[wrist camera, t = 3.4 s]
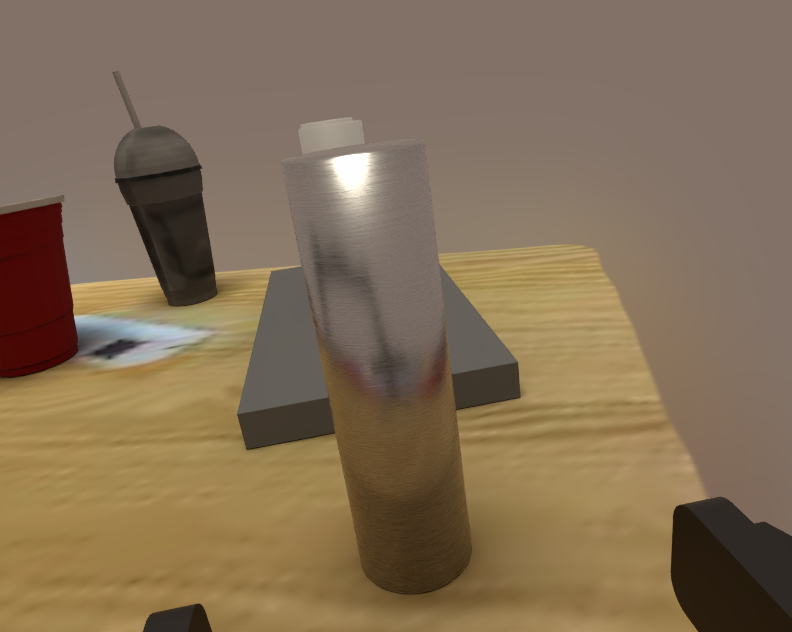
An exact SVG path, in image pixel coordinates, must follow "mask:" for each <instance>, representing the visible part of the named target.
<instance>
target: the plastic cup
mask: <svg viewBox="0 0 792 632" xmlns="http://www.w3.org/2000/svg"><path fill="white" fill-rule="evenodd" d="M63 201H64V195H60V196H54V197H49V198H43V199H37V200H32V201H26V202H21V203H16V204H11V205H5V206H1V207H0V376H1V377H14V376H20V375H27V374H30V373H34V372H37V371H41V370H44V369H47V368H50V367H52V366H55V365H57V364H60V363H61V362H63V361H65V360H67V359H69V358H70V357H72V356H73V355H74V354H75V353H76V352H77V349H78V346H77V343H78V337H77V332H76V326H75V320H74V314H73V299H72V293H71V287H70V281H69V275H68V268H67V262H66V256H65V250H64V244H63V236H64V235H63V230H62V224H61V223H62V216H61V212H62V209H61V208H62V204H61V202H63Z"/></svg>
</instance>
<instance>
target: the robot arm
mask: <svg viewBox="0 0 792 632" xmlns="http://www.w3.org/2000/svg"><path fill="white" fill-rule="evenodd" d="M671 580H672V585H673V588H674V592H675V595H676V597H677V599H678V602H679V604H680V606H681V608H682V609H683V611H684V613H685V614H686V616H687V617H688V618H689V620H690V621H691V622H692V624H693V625H694V626H695V628H696V629H697V631H698V632H792V536H790V535H788V534H787V533H785V532H783V531H781V530H779V529H777V528H775V527H773V526H772V525H770V524H768V523H766V522H760V523H756V524H754V523H753V522H752V521H750V520H749V519H748V518H747V517H746V516H745V515H744V514H743V513H742V512H741V511H740V510H739V509H738V508H737V507H736V506H735V505H734V504H733V503H732V502H730V501H729V500H728V499H726V498H723V497H716V498H711V499H706V500H702V501H697V502H692V503H687V504H682V505H678V506H677V507H676V508H675V510H674V514H673V533H672V556H671ZM143 632H212V630H211V627H210V624H209V621H208V618H207V615H206V612H205V610H204V608H203V606H202V605H201V604H194V605H189V606H184V607H179V608H174V609H170V610H165V611H160V612H155V613H152V614H151V615H150V616H149V617H148V619H147V621H146V624H145V627H144V630H143Z"/></svg>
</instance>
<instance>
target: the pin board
mask: <svg viewBox="0 0 792 632" xmlns="http://www.w3.org/2000/svg"><path fill="white" fill-rule="evenodd" d="M298 133H299V138H300V143H301V149H302V154H306V153H311V152H316V151H321V150H326V149H332V148H338V147H344V146H351V145H357V144H365V141H364V135H363V128H362V121H361V120H354V121H352V117H348V118H339V119H332V120H325V121H319V122H312V123H307V124H302V125H301V129H298ZM439 267H440V275H441V284H442V293H443V302H444V310H445V319H446V328H447V336H448V345H449V354H450V363H451V371H452V380H453V389H454V397H455V406H456V409H461V408H466V407H471V406H476V405H482V404H487V403H492V402H497V401H502V400H508V399H513V398H518V397H520V384H519V369H518V361H517V360H516V359H515V358H514V356H513V355H512V354H511V353H510V351H509V350H508V349H507V348H506V346H505V345H504V344H503V343H502V341H501V340H500V339H499V338H498V337H497V335H496V334H495V333H494V332H493V330H492V329H491V328H490V327H489V325H488V324H487V323H486V322H485V320H484V319H483V318H482V317H481V315H480V314H479V313H478V312H477V310H476V309H475V308H474V307H473V305H472V304H471V303H470V302H469V300H468V299H467V298H466V297H465V295H464V294H463V293H462V292H461V291H460V289H459V288H458V287H457V286H456V284H455V283H454V282H453V281H452V279H451V278H450V277H449V276H448V274H447V273H446V272H445V271H444V269H443V268H442V267H441V266H440V264H439ZM237 415H238V419H239V423H240V427H241V430H242V434H243V438H244V442H245V445H246V449H251V448H257V447H262V446H267V445H272V444H278V443H283V442H288V441H293V440H298V439H304V438H309V437H314V436H319V435H325V434H330V433H335V429H334V424H333V419H332V414H331V409H330V404H329V399H328V394H327V389H326V384H325V379H324V374H323V369H322V364H321V359H320V354H319V349H318V344H317V339H316V334H315V329H314V324H313V319H312V314H311V309H310V304H309V299H308V295H307V290H306V285H305V280H304V275H303V270H302V266H301V267H295V268H289V269H283V270H277V271H271V275H270V279H269V283H268V288H267V292H266V296H265V300H264V304H263V308H262V313H261V317H260V321H259V325H258V329H257V334H256V338H255V342H254V346H253V350H252V354H251V359H250V363H249V367H248V371H247V375H246V380H245V384H244V388H243V392H242V396H241V400H240V405H239V409H238V413H237Z"/></svg>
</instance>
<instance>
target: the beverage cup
mask: <svg viewBox="0 0 792 632" xmlns="http://www.w3.org/2000/svg"><path fill="white" fill-rule="evenodd" d="M113 75H114V78H115V80H116V83H117V85H118V88H119V90H120V93H121V95H122V97H123V100H124V102H125V105H126V108H127V110H128V112H129V115H130V117H131V120H132V122H133V125H134V127H135V129H133V130H131V131H130V132H129V133H127V134H126V135H125V136H124V137H123V139H122V140H121V142H120V143H119V145H118V147H117V150H116V153H115V158H114V170H115V175H116V178H115V182H116V183H118V185H119V188H120V191H121V193H122V195H123V197H124V199H125V201H126V203H127V205H129V206H130V209H131V211H132V214H133V216H134V219H135V221H136V224H137V227H138V229H139V232H140V234H141V237H142V239H143V242H144V244H145V247H146V250H147V252H148V255H149V257H150V260H151V262H152V265H153V268H154V270H155V273H156V275H157V278H158V280H159V283H160V285H161V288H162V289H163V291H164V294H165V296H166V297H167V300H168V303H169V305H171V306H186V305H192V304H196V303H200V302H203V301H206V300H208V299H210V298H212V297H214V296H215V295H216V294H217V289H216V281H215V271H214V264H213V259H212V252H211V246H210V240H209V234H208V228H207V222H206V216H205V210H204V204H203V198H202V191H203V188H202V176H201V171H200V169H201V168H202V167H201V165H200V164H199V162H198V159H197V156H196V155H195V152H194V150H193V149H192V148H191V146H190V144H189V143H188V142H187V141H186V140H185V139H184V138H183V137H182V136H181V135H179V134H178V133H176V132H175V131H173V130H171V129H169V128H166V127H163V126H152V127H146V128H141V126H140V123H139V120H138V118H137V115H136V113H135V110H134V108H133V105H132V103H131V100H130V98H129V95H128V93H127V91H126V88H125V86H124V83H123V81H122V78H121V76H120V73H119V71H116V72H113Z"/></svg>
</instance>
